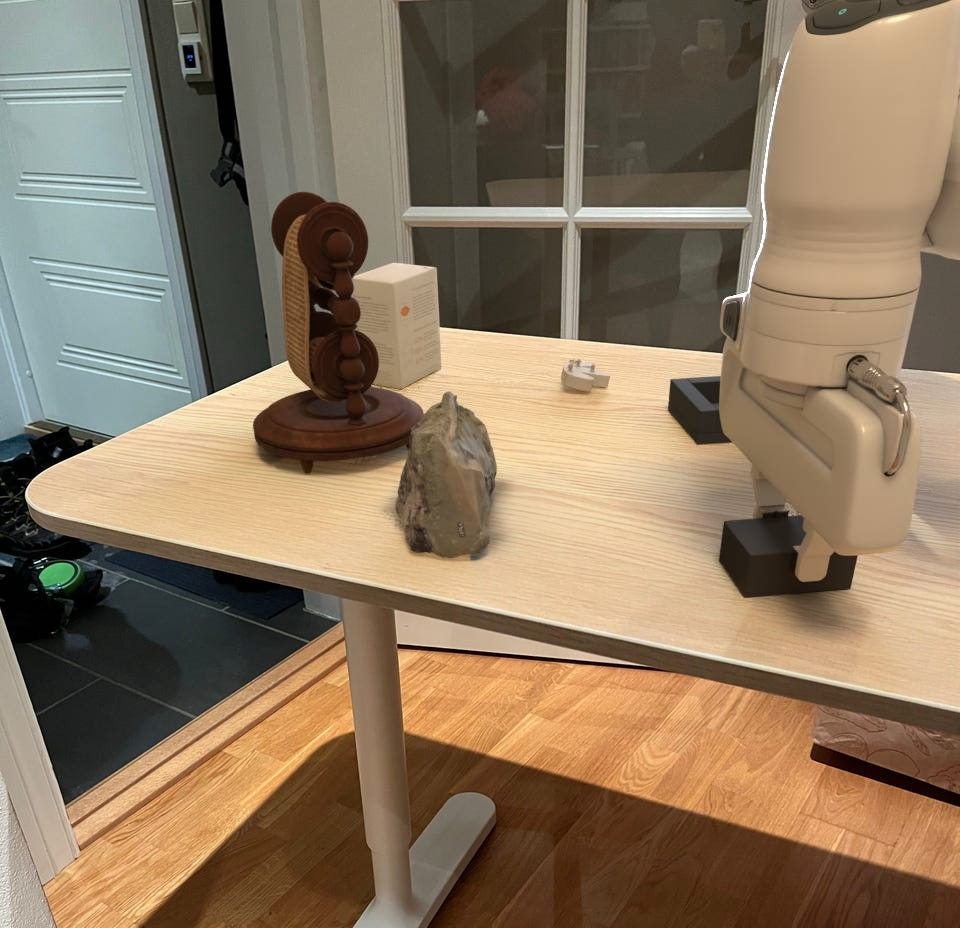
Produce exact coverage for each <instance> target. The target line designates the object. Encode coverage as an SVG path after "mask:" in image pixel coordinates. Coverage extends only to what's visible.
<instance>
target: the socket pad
mask: <svg viewBox="0 0 960 928" xmlns="http://www.w3.org/2000/svg"><path fill="white" fill-rule="evenodd" d="M720 379H721V375H715V376H713V375H712V376H698V377H697V376H696V377H682V378H681V377H680V378H670V380H669V392H668V403H667V411H668V412H669V413H670V415H671V416H672V417H673V418H674V419H675V420H676V422H677V423H678V424H679V425H680V426H681V427H682V429H683V430H684V431H685V432H686V434H687V435H688V436H689V437H690V438H691V440H693V442H694V443H695V445H697V446H698V445H713V444H726V443H727V444H728V443H733V442H732V441H731V440H730V439H729V438H728V437H727V436H726V435H725V434H724V433H723V430H722V425H721V420H720V413H719V398H720Z"/></svg>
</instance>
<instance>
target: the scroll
mask: <svg viewBox="0 0 960 928" xmlns="http://www.w3.org/2000/svg"><path fill="white" fill-rule="evenodd" d="M270 224H271V225H270V231H271V238H272V242H273V244H274V247H275V249H276V250H277V252H278V253H279V254H280V255H281V257H282V269H281V298H282V299H281V301H282V302H281V303H282V304H281V305H282V319H283V336H284V337H283V338H284V345H285V354H286V359H287V362H288V366H289V367H290V369H291V372H292V373H293V375H294V376H295V377H296V378H297V379H299V380H300V381H301V382H302V383H303V384H304V385H305V386H307V387H308V388H309V389H307V390H302V391H299V392H296V393H293V394H289V395H286V396H284V397H282V398H280V399H278V400H276V401H274V402H273V403H271V404H270V405H268V407H266V408H265V409H263V410H262V411H260V412H259V413H258V414H257V415H256V416H255V418H254V420H253V423H252V429H253V436H254V441H255V443H256V444H257V445H258V447H260V448H261V449H262V450H264V451H265V452H268V453H270V454H273V455H276V456H278V457H283V458H287V459H291V460H292V459H293V460H298V461H299V465H300V467H301V469H302V471H303V473H304V474H306V475H310V474H311V473H312V472H313V469H314V464H315V463H314V462H335V461H336V462H337V461H347V460H349V461H351V460H357V459H358V460H359V459H363V458H364V459H365V458H368V457H374V456H379V455H381V454H386V453H390V452H392V451H395V450H397V449H401V448H402V447H404V446H405V447H406V448H407V450H408V451H409V446H410V433H411V431H412V428H413V427H414V426H415V425H416V424H417V423H418V422H419V421H421V419H422V417H423V415H424V414H425V413H424V410H423V408H422V406H421V405H420V404H419V403H418V402H416V401H415V400H413V399H411V398H409V397H407V396H405V395H403V394H402V393H399V392H397V391H394V390H390V389H386V388H382V387H376V386H372V385H374V384H373V382H374V380H375V378H376V376H377V373H378V368H379V357H378V352H377V349H376V347H375V345H374V343H373V342H372V341H371V340H370V338H369V337H368V336H366V335H365V334H363V333H362V332H360V331H357V330H355V329H356V328H357V327H358V325H357V324H356V323H357V322H358V321H359V320H360V316H361V310H360V306H359V303H358V301H357V300H356V299H355V298H353V297H351V296H352V294H353V292H354V284H353V281H352V279H353V277H354V276H356V273H358V272H359V270H360V269H361V268H362V266H363V264H364V263H365V260H366V258H367V255H368V250H369V235H368V231H367V227H366V224H365V222H364V221H363V219H362V217H361V216H360V215H359V213H358V212H357V211H356V210H354V209H353V208H352V207H350V206H349V205H347V204H344V203H342V202H338V201H327V200H326V199H325V198H323V197H322V196H320V195H318V194H316V193H313V192H310V191H297V192H294V193H292V194H289V195H287V196H286V197H284V199H283V200H281V201H280V202H279V204H278V205H277V207H276V208H275V210H274V212H273V214H272V218H271V223H270ZM334 291H335V292H334ZM315 305H317V306H318V307H319V308H320V309H322V310H321V311H320V310H319V311H317V309H316V306H315ZM323 310H324V311H323ZM327 311H328V312H327Z"/></svg>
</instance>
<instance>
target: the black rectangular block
mask: <svg viewBox="0 0 960 928" xmlns="http://www.w3.org/2000/svg"><path fill="white" fill-rule="evenodd" d="M803 522H804V518H803V517H802V516H801V515H800V514H799V515H798V514H797V515H788V516H784V517H770V518H756V519H753V518H743V519H732V520H729V519H728V520H723V522H722V523H723V524H722V531H721V532H722V533H721V541H720V547H719V554H718V562H719V564H720V565H721V566H722V568H723V569H724V571H725V572H726V573H727V575H728V576H729V577H730V579H731V580H732V582H733V583H734V585H735V586H736V587H737V590H738V591H739V592H740V593H741V595H742V597H744V598H755V597H765V596H781V595H790V594H791V595H792V594H803V593H805V594H806V593H816V592H827V591H828V592H829V591H841V590H850V589H851V588H852V584H853V579H854V576H855V575H854V574H855V570H856V566H857V561H858V557H859V555H853V556H844V555H839V554H838V553H836V552H835V551H834V552H833V554H832V555H830V559H829V563H828V568H827V573H826V576H825V577H824V578H823V579H822V580H819V581H808V582H802V581H800V580H799V579H798V578H797V577H796V575H795V574H794V573H793V572H792V570H791V569H790V561H791V555H792V546H799V545H801V543H802V541H803V539H804V537H805V535H806V532H805V531H804V530H803Z"/></svg>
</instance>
